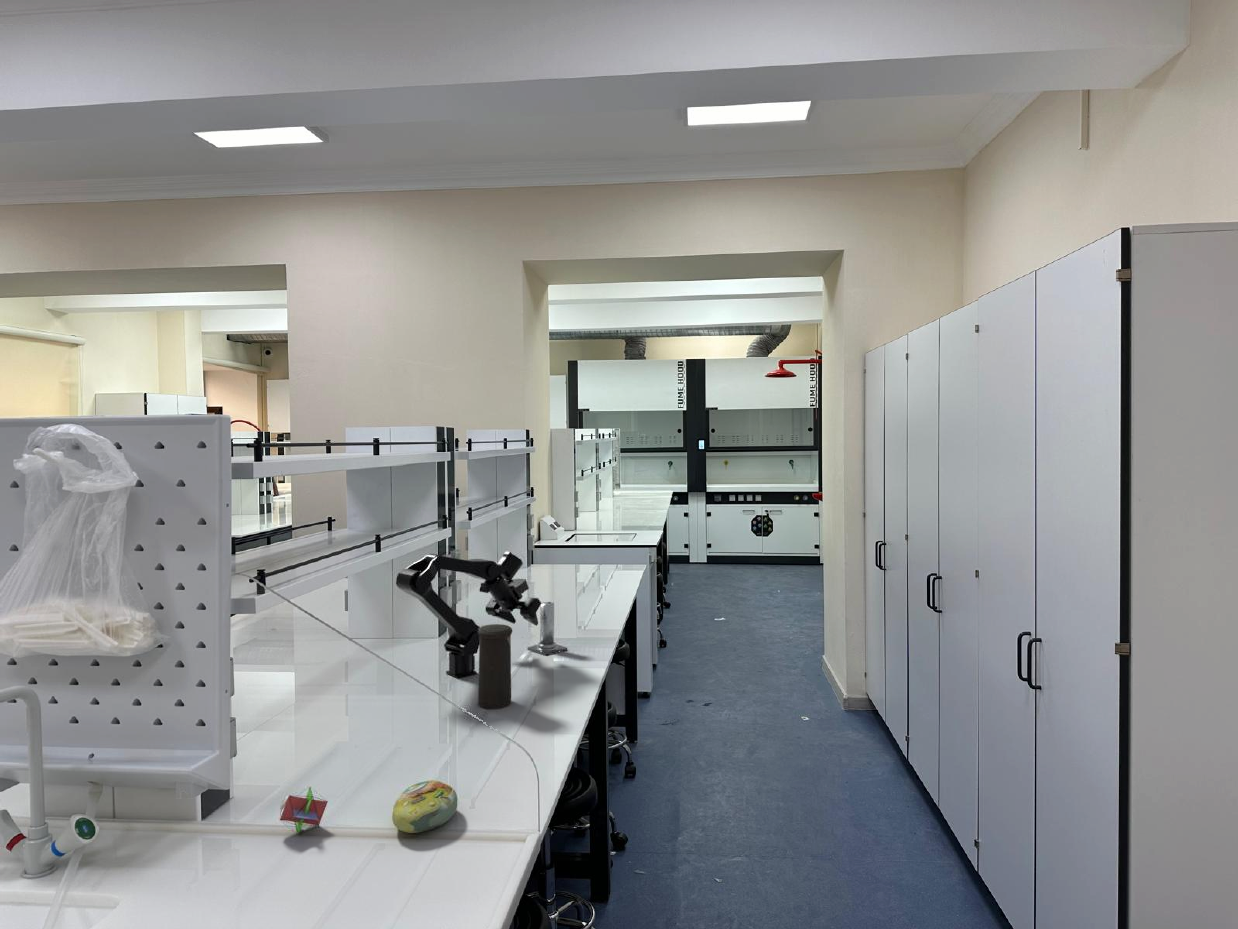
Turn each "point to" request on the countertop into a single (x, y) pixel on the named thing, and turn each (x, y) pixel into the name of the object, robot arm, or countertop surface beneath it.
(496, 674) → the container
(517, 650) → the countertop surface
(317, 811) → the geometric puzzle
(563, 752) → the countertop surface
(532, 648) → the base plate
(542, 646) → the sleeve
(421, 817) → the cell model
